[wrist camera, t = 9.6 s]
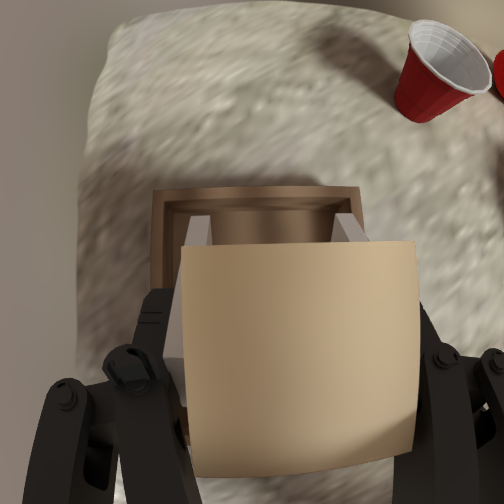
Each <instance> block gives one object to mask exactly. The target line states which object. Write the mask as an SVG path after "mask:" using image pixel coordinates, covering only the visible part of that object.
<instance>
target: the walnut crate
mask: <svg viewBox="0 0 504 504" xmlns="http://www.w3.org/2000/svg"><path fill="white" fill-rule="evenodd" d="M335 213H353V215H354V217H355V218H356V220H357V222H358V223H359V225H360V226H361V228H362V230H363V232H364V233H365V231H364V222H363V213H362V205H361V197H360V189H359V187H343V186H245V187H213V188H191V189H173V190H157V191H153V204H152V226H151V290H152V289H153V288H175V286H176V281H177V277H178V272H179V267H180V262H181V246H184V244H185V239H186V235H187V231H188V226H189V222H190V218H191V216H208V215H210V221H211V233H212V245H243V244H283V243H326V242H331V238H332V231H333V225H334V219H335ZM179 416H180V418H181V421H182V426H183V430H184V435H185V439H186V443H187V445H189V446H191V443H190V433H189V422H188V411H187V407H182V404H181V402H180V404H179Z"/></svg>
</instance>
